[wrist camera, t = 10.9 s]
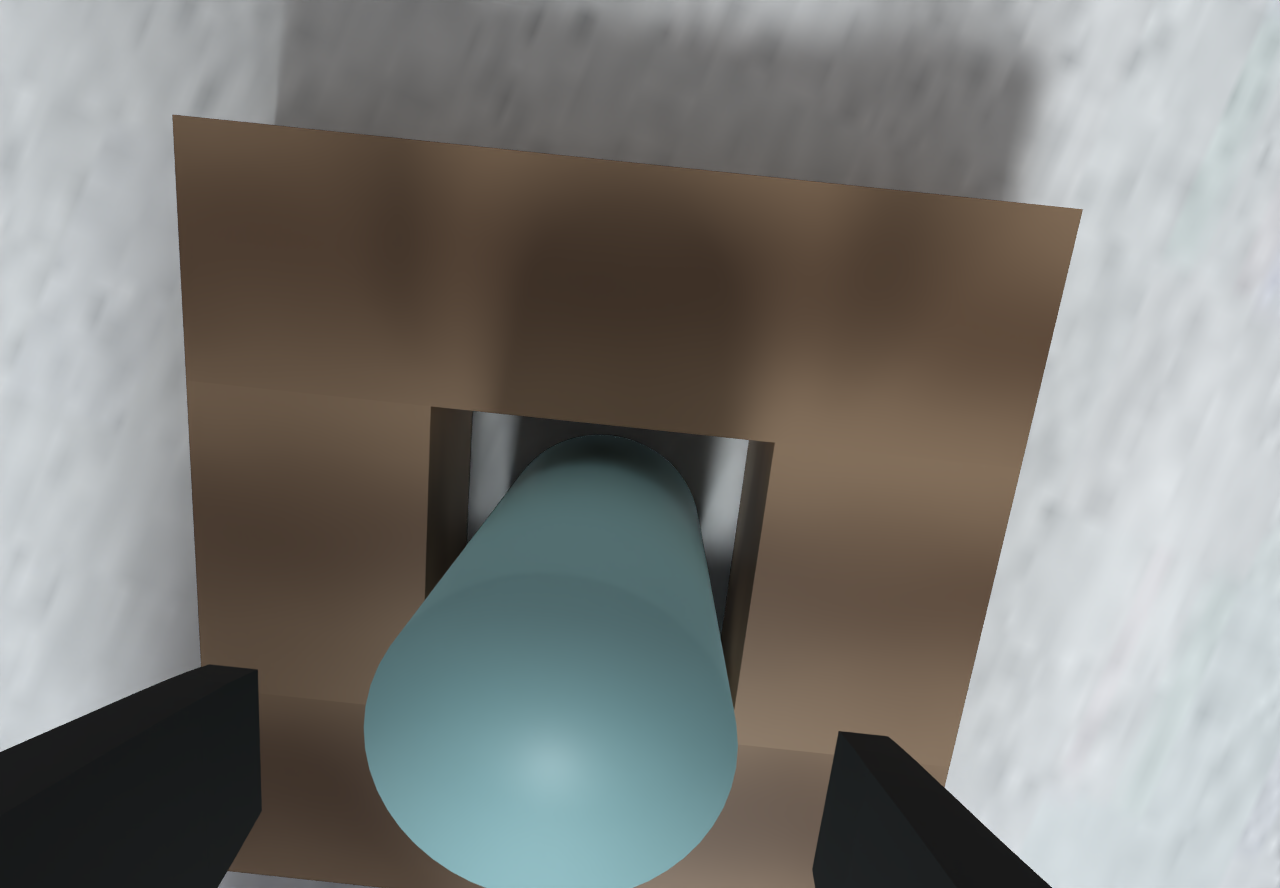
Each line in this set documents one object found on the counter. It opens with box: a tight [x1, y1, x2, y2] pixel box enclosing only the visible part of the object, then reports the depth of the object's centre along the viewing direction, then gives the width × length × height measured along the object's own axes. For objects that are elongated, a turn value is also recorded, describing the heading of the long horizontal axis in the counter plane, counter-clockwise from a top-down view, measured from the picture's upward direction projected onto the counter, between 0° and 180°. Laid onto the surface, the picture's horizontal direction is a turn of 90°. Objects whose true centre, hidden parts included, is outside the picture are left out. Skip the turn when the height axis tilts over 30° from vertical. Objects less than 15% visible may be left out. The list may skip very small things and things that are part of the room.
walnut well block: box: [172, 115, 1083, 888], centre depth 15 cm, size 16×16×3 cm
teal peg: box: [364, 435, 738, 888], centre depth 12 cm, size 5×5×8 cm
